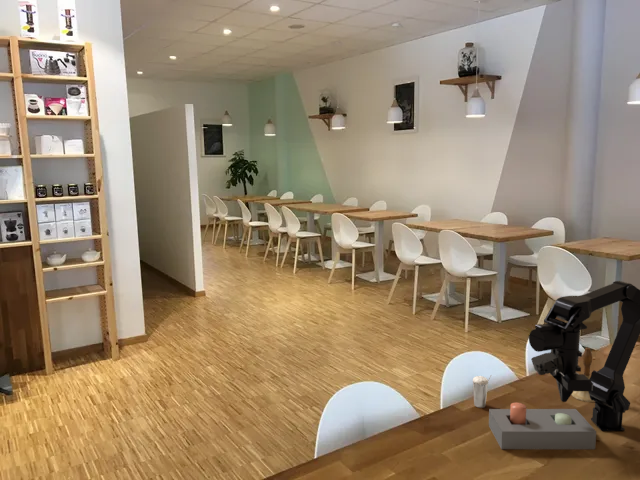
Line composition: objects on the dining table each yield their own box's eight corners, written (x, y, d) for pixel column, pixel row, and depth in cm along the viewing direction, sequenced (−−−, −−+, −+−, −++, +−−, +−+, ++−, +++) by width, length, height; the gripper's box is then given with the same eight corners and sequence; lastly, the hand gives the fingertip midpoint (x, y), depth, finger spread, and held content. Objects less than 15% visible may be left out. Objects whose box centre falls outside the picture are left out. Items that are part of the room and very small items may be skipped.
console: (574, 425, 148) (575, 408, 147) (595, 449, 136) (596, 431, 136) (488, 425, 149) (489, 409, 149) (501, 449, 138) (502, 431, 137)
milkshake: (491, 409, 158) (492, 378, 157) (472, 408, 159) (473, 377, 158) (489, 402, 163) (490, 372, 161) (471, 401, 164) (472, 370, 162)
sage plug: (566, 430, 144) (567, 413, 144) (572, 437, 140) (574, 420, 140) (551, 430, 145) (552, 413, 144) (557, 437, 141) (558, 420, 140)
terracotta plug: (522, 419, 144) (523, 402, 144) (527, 427, 140) (528, 409, 140) (507, 419, 145) (508, 402, 144) (512, 427, 141) (513, 409, 140)
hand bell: (592, 405, 160) (596, 355, 157) (565, 395, 166) (568, 347, 164) (605, 396, 165) (608, 348, 162) (578, 387, 171) (581, 341, 169)
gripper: (523, 333, 148) (521, 386, 150) (549, 359, 129) (546, 418, 132) (564, 333, 147) (560, 386, 150) (596, 359, 129) (591, 418, 132)
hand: (563, 401), depth 141 cm, fingers closed
